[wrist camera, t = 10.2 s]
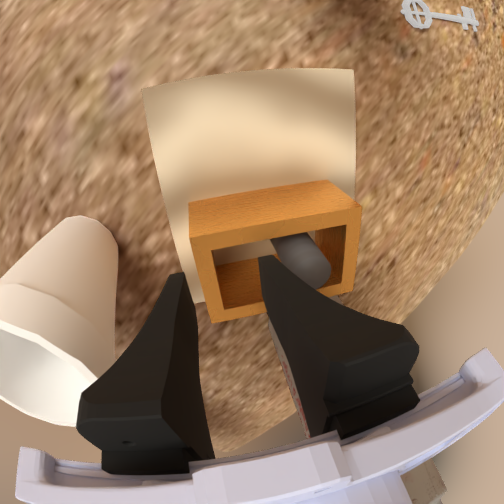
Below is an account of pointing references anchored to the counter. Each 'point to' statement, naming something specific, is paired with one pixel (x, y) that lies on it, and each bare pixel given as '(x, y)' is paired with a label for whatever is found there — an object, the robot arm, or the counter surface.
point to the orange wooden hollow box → (267, 227)
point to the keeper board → (252, 151)
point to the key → (436, 15)
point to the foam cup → (58, 320)
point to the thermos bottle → (415, 481)
